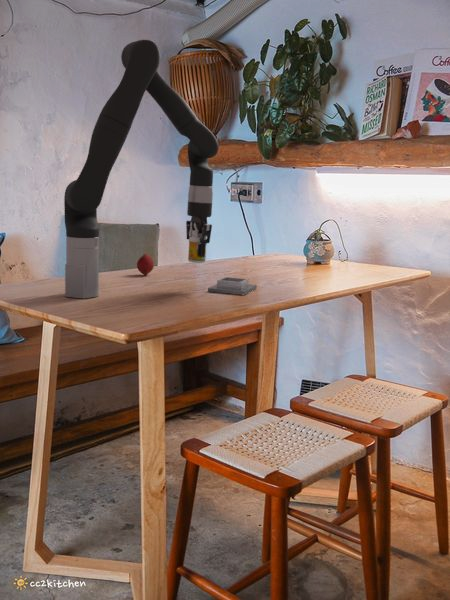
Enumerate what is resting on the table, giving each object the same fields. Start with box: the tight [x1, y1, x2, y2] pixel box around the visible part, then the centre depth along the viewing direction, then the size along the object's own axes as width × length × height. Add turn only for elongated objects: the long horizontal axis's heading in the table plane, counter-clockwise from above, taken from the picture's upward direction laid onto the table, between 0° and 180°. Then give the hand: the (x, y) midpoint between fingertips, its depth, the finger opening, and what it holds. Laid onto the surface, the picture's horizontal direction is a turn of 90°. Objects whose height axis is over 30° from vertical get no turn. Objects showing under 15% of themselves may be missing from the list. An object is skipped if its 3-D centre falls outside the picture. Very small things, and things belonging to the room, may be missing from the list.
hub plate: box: [207, 276, 258, 296], centre depth 218 cm, size 14×12×3 cm
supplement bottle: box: [187, 230, 207, 264], centre depth 213 cm, size 5×5×10 cm
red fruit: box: [136, 252, 155, 276], centre depth 240 cm, size 6×6×8 cm
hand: (196, 255), depth 214 cm, fingers closed on supplement bottle, 5 cm apart
